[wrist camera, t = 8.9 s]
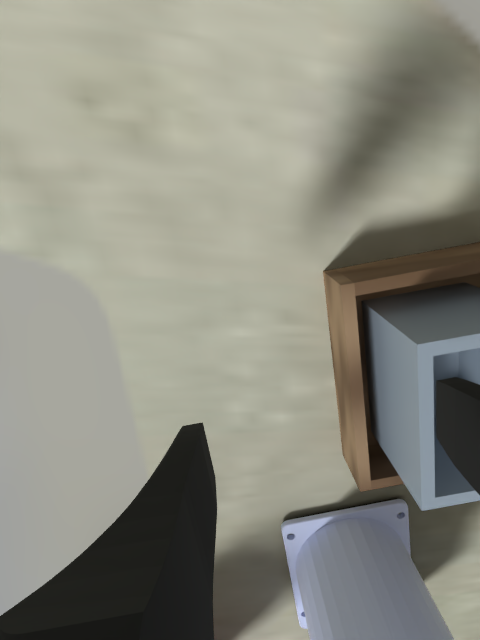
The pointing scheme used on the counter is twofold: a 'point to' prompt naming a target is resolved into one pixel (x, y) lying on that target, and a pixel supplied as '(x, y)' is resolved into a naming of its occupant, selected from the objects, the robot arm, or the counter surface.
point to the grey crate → (420, 382)
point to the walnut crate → (349, 346)
